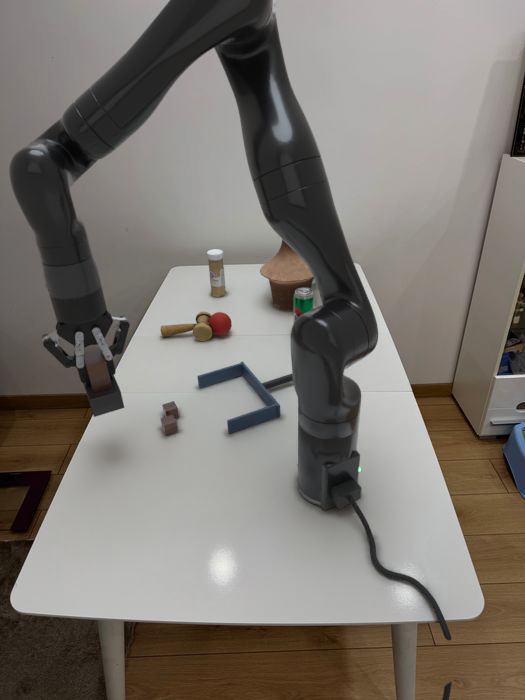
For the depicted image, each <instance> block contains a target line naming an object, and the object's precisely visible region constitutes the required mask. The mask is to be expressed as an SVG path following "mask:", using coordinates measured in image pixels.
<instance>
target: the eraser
mask: <svg viewBox="0 0 525 700" xmlns="http://www.w3.org/2000/svg"><path fill="white" fill-rule="evenodd" d="M84 362H85V365H86V369H87V372H88V376H89V379H90V383H91V384H90V385H87V384H86V382H85V383H82V384H83V387H84V390H85V393H86V397H87V400H88V403H89V406H90V410H91V412H92V415H93V417H94V418H96V417H99V416H102V415H105V414H108V413H113V412H115V411H118V410H119V411H120V410H122V409H125V404H124V399H123V395H122V391H121V389H120V385H119V383H118V381H117V380H116V377H115V374H114V375H112V376H113V378H111V379H110V376H109V372H108V368H107V364H106V361H105V359H104V356H103V353H102V351H101V349H100V347H99V345H98V344H97V345H89V346H87V347H85V348H84Z"/></svg>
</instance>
